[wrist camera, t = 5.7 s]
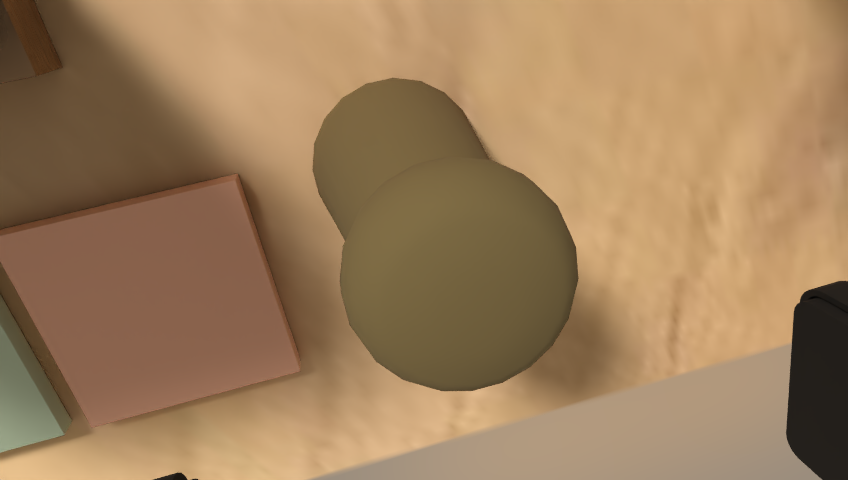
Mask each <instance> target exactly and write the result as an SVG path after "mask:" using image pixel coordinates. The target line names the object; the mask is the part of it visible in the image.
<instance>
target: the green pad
mask: <svg viewBox="0 0 848 480" xmlns="http://www.w3.org/2000/svg"><path fill="white" fill-rule="evenodd" d="M71 422H72V420H71V418H70V417H69V415H68V413H67V411H66V409H65V408H64V406H63V404H62V402H61V401H60V399H59V397H58V395H57V394H56V392H55V390H54V388H53V386H52V385H51V383H50V381H49V379H48V378H47V376H46V374H45V372H44V371H43V369H42V367H41V365H40V363H39V362H38V360H37V358H36V356H35V355H34V353H33V351H32V349H31V348H30V346H29V344H28V342H27V341H26V339H25V337H24V335H23V333H22V332H21V330H20V328H19V326H18V325H17V323H16V321H15V319H14V318H13V316H12V314H11V312H10V310H9V309H8V307H7V305H6V303H5V302H4V300H3V298H2V296H1V295H0V452H4V451H8V450H11V449H15V448H19V447H22V446H26V445H30V444H33V443H37V442H41V441H45V440H48V439H52V438H56V437H59V436H63V435H65V433H66V431H67V430H68V428H69V426H70V424H71Z"/></svg>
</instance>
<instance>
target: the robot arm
mask: <svg viewBox="0 0 848 480" xmlns="http://www.w3.org/2000/svg"><path fill="white" fill-rule="evenodd" d="M786 435H787V440H788V443H789V445H790V447H791V449H792V451H793V452H794V454H795V455H796V456H797V457H798V458H799V459H800V460H801V461H802V462H803V463H804V464H805V465H807V466H808V467H809V468H810V469H811V470H812V471H813V472H814V473H815V474H817V475H818V476H819V477H820V478H821V479H822V480H848V281H838V282H835V283H831V284H828V285H824V286H821V287H817V288H814V289H811V290H808V291H806V292H804V294H803V295H802V296H801V299H800V303H798V304H797V305H796V307H795V310H794V320H793V336H792V352H791V367H790V383H789V399H788V414H787V430H786ZM154 480H187V478H186V477H185V476H184V475H183V474H182V473H175V474H171V475H168V476H164V477H161V478H157V479H154ZM192 480H198V479H192Z"/></svg>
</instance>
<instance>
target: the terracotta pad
mask: <svg viewBox="0 0 848 480" xmlns="http://www.w3.org/2000/svg"><path fill="white" fill-rule="evenodd" d="M0 262H1V264H2V266H3V268H4V269H5V271H6V273H7V275H8V277H9V279H10V280H11V282H12V284H13V286H14V288H15V289H16V291H17V293H18V295H19V297H20V299H21V300H22V302H23V304H24V306H25V308H26V309H27V311H28V313H29V315H30V317H31V318H32V320H33V322H34V324H35V326H36V328H37V329H38V331H39V333H40V335H41V337H42V338H43V340H44V342H45V344H46V346H47V348H48V349H49V351H50V353H51V355H52V357H53V358H54V360H55V362H56V364H57V366H58V368H59V369H60V371H61V373H62V375H63V377H64V378H65V380H66V382H67V384H68V386H69V387H70V389H71V391H72V393H73V395H74V397H75V398H76V400H77V402H78V404H79V406H80V407H81V409H82V411H83V413H84V415H85V417H86V418H87V420H88V422H89V424H90V426H91V427H92V428H93V427H96V426H100V425H104V424H107V423H111V422H115V421H118V420H122V419H126V418H129V417H133V416H137V415H141V414H144V413H148V412H152V411H155V410H159V409H163V408H166V407H170V406H174V405H177V404H181V403H185V402H189V401H192V400H196V399H200V398H203V397H207V396H211V395H214V394H218V393H222V392H225V391H229V390H233V389H237V388H240V387H244V386H248V385H251V384H255V383H259V382H262V381H266V380H270V379H273V378H277V377H281V376H285V375H288V374H292V373H296V372H299V371H300V357H299V354H298V351H297V348H296V345H295V342H294V340H293V337H292V334H291V331H290V328H289V325H288V322H287V319H286V316H285V313H284V310H283V307H282V304H281V301H280V298H279V295H278V292H277V289H276V286H275V283H274V280H273V277H272V274H271V271H270V268H269V265H268V262H267V259H266V257H265V254H264V251H263V248H262V245H261V242H260V239H259V236H258V233H257V230H256V227H255V224H254V221H253V218H252V215H251V212H250V209H249V206H248V203H247V200H246V197H245V194H244V191H243V188H242V185H241V182H240V179H239V177H238V174H233V175H229V176H225V177H220V178H216V179H212V180H208V181H203V182H199V183H195V184H191V185H187V186H182V187H178V188H174V189H170V190H165V191H161V192H157V193H153V194H148V195H144V196H140V197H136V198H131V199H127V200H123V201H119V202H115V203H110V204H106V205H102V206H98V207H93V208H89V209H85V210H81V211H76V212H72V213H68V214H64V215H60V216H55V217H51V218H47V219H43V220H38V221H34V222H30V223H26V224H21V225H17V226H13V227H9V228H4V229H0Z"/></svg>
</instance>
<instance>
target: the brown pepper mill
mask: <svg viewBox="0 0 848 480" xmlns="http://www.w3.org/2000/svg"><path fill="white" fill-rule="evenodd" d="M313 173H314V177H315V180H316V184H317V188H318V192H319V195H320V197H321V198H322V200H323V202H324V204H325V205H326V207H327V209H328V211H329V213H330V214H331V216H332V218H333V220H334V222H335V223H336V225H337V227H338V229H339V230H340V232H341V234H342V236H343V238H344V239H345V243H344V245H343V252H342V263H341V274H340V286H341V294H342V298H343V301H344V305H345V309H346V312H347V316H348V320H349V323H350V326H351V327H352V329H353V330H354V331H355V333H356V334H357V336H358V337H359V338H360V340H361V341H362V343H363V344H364V345H365V347H366V348H367V349H368V351H369V352H370V354H371V355H372V356H373V358H374V359H375V360H376V362H378V363H379V364H381V365H382V366H384V367H385V368H386V369H388V370H389V371H391V372H392V373H394V374H395V375H397V376H398V377H400V378H401V379H403V380H406V381H409V382H412V383H416V384H419V385H423V386H426V387H430V388H433V389H437V390H440V391H473V390H477V389H481V388H484V387H488V386H492V385H495V384H499V383H503V382H504V381H506V380H508V379H510V378H511V377H513V376H515V375H517V374H518V373H520V372H522V371H524V370H526V369H527V368H529V367H530V366H531V365H533V364H534V363H535V362H536V361H537V360H538V359H539V358H540V357H541V356H542V355H543V354H544V353H545V352H546V351H547V350H548V349H549V348H550V347H551V346H552V345H553V344H554V342H555V340H556V338H557V337H558V335H559V333H560V332H561V330H562V328H563V327H564V325H565V323H566V322H567V320H568V318H569V314H570V310H571V306H572V302H573V298H574V294H575V290H576V286H577V282H578V269H577V256H576V246H575V244H574V242H573V239H572V237H571V234H570V232H569V230H568V228H567V226H566V224H565V221H564V219H563V217H562V215H561V213H560V211H559V208H558V206H557V205H556V204H555V203H554V202H553V201H552V200H551V199H550V198H549V197H548V196H547V195H546V194H545V193H544V192H543V191H542V190H541V189H540V188H539V187H538V186H537V185H536V184H535V183H534V182H533V181H531V180H530V179H529V178H527V177H526V176H525V175H523V174H522V173H519V172H517V171H515V170H513V169H510V168H508V167H506V166H504V165H501V164H499V163H497V162H495V161H492V160H489V158H488V156H487V154H486V152H485V151H484V149H483V147H482V145H481V143H480V141H479V140H478V138H477V136H476V134H475V132H474V130H473V129H472V127H471V125H470V123H469V121H468V119H467V118H466V116H465V114H464V112H463V110H462V109H461V108H460V107H459V106H458V105H457V104H456V103H455V102H454V101H452V100H451V99H450V98H449V97H448V96H447V95H446V94H445V93H444V92H442V91H440V90H438V89H436V88H434V87H432V86H430V85H428V84H425V83H423V82H421V81H415V80H406V79H398V78H391V79H387V80H382V81H377V82H373V83H368V84H365V85H364V86H362V87H360V88H359V89H357V90H355V91H354V92H352V93H350V94H349V95H347V96H345V97H343V98H342V99H341V100H340V102H339V103H338V104H337V105H336V106H335V107H334V109H333V110H332V111H331V112H330V113H329V114H328V115H327V117H326V118H325V119H324V122H323V124H322V126H321V129H320V131H319V134H318V136H317V138H316V141H315V143H314V157H313Z"/></svg>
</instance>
